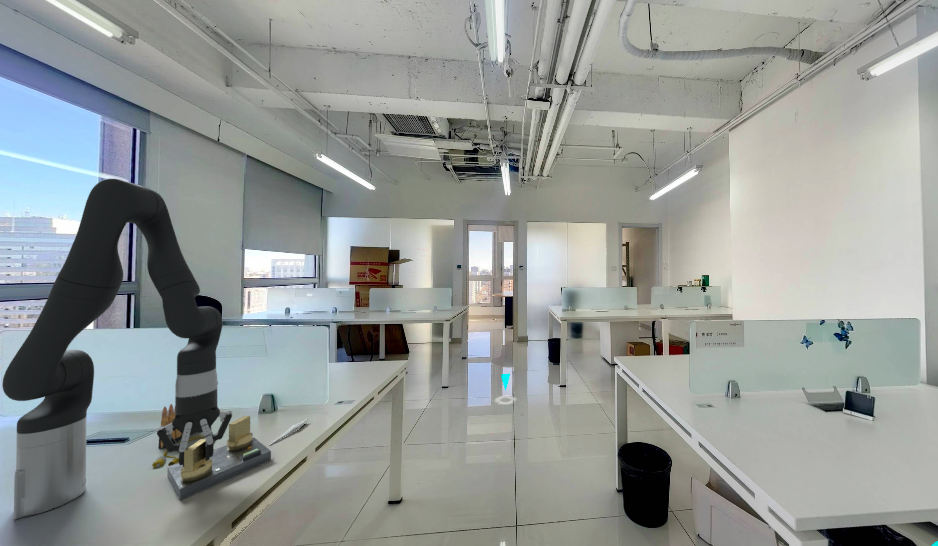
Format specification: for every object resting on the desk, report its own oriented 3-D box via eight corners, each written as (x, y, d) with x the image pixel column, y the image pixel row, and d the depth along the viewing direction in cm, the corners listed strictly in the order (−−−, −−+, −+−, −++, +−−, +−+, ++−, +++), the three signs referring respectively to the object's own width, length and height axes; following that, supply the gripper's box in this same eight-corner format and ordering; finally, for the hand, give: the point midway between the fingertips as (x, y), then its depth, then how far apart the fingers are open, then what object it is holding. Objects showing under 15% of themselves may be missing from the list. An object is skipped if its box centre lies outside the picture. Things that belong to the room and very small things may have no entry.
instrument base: (179, 500, 66) (179, 484, 66) (167, 476, 75) (167, 462, 75) (271, 460, 81) (270, 447, 81) (252, 444, 89) (252, 432, 89)
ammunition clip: (163, 448, 88) (164, 407, 88) (158, 448, 88) (158, 407, 88) (199, 430, 98) (199, 394, 99) (194, 430, 99) (194, 393, 99)
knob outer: (240, 451, 81) (240, 425, 81) (221, 450, 81) (221, 424, 82) (259, 438, 87) (259, 414, 87) (242, 437, 88) (242, 413, 88)
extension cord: (133, 466, 80) (133, 459, 80) (198, 436, 95) (198, 430, 95) (167, 472, 77) (167, 464, 77) (228, 440, 93) (228, 434, 93)
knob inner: (201, 480, 69) (201, 449, 69) (173, 483, 68) (173, 452, 68) (220, 463, 75) (220, 435, 76) (195, 465, 75) (195, 437, 75)
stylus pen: (304, 422, 103) (304, 416, 103) (310, 423, 102) (310, 417, 102) (264, 448, 88) (264, 442, 88) (271, 449, 88) (271, 443, 88)
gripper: (151, 402, 65) (150, 483, 64) (234, 387, 73) (234, 458, 73) (158, 392, 71) (158, 466, 70) (234, 379, 79) (234, 445, 79)
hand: (197, 461), depth 71 cm, fingers closed on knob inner, 3 cm apart
